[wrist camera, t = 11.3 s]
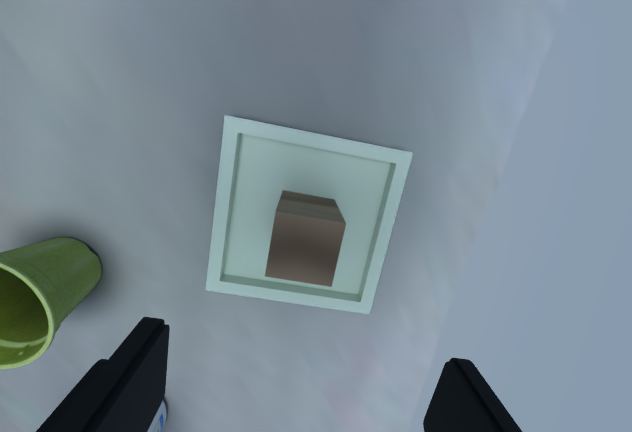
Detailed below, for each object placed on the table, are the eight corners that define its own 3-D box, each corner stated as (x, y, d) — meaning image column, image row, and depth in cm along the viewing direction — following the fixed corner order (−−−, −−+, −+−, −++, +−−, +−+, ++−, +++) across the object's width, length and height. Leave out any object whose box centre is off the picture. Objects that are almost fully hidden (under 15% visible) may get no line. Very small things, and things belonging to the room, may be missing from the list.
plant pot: (121, 311, 32) (57, 375, 24) (26, 302, 31) (-76, 364, 23) (119, 227, 29) (46, 265, 21) (15, 215, 29) (-102, 249, 20)
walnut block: (282, 189, 29) (275, 211, 21) (334, 199, 29) (346, 223, 21) (274, 239, 30) (264, 276, 22) (324, 247, 30) (331, 287, 23)
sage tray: (230, 116, 27) (224, 115, 25) (405, 151, 29) (413, 152, 27) (211, 280, 31) (205, 290, 29) (365, 303, 33) (369, 314, 31)
